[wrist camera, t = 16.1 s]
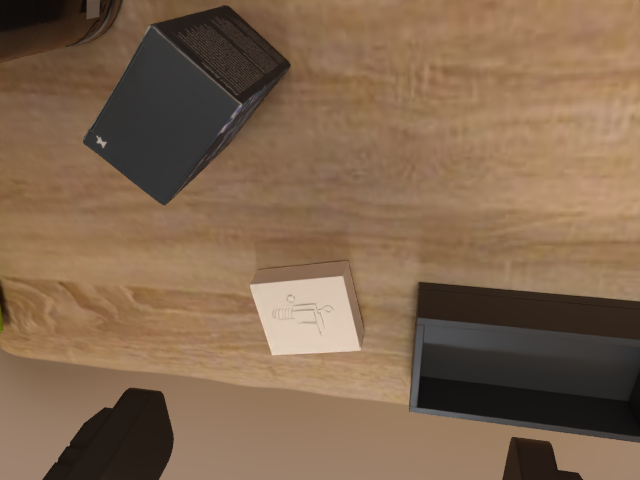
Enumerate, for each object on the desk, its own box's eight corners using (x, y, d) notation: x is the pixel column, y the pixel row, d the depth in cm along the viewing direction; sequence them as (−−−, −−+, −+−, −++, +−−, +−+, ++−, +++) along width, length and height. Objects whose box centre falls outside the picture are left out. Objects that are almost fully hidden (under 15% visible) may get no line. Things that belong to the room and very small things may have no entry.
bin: (630, 398, 41) (650, 444, 37) (411, 371, 44) (408, 412, 41) (665, 303, 37) (691, 345, 33) (419, 281, 40) (416, 317, 36)
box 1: (228, 147, 38) (162, 209, 29) (166, 93, 37) (76, 140, 27) (295, 64, 34) (243, 106, 25) (227, 1, 33) (146, 20, 24)
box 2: (162, 120, 38) (140, 131, 35) (308, 90, 35) (297, 100, 32) (239, 340, 46) (227, 363, 44) (364, 332, 43) (359, 356, 40)
